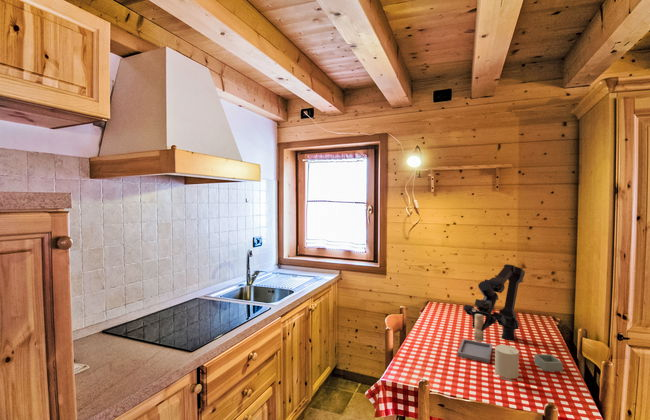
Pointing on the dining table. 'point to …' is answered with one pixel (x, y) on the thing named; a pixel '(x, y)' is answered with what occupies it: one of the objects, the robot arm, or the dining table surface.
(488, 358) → the tray
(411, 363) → the dining table surface
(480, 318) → the dowel
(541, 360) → the grey square bin
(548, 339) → the dining table surface
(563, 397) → the dining table surface
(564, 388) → the dining table surface
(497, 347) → the can
